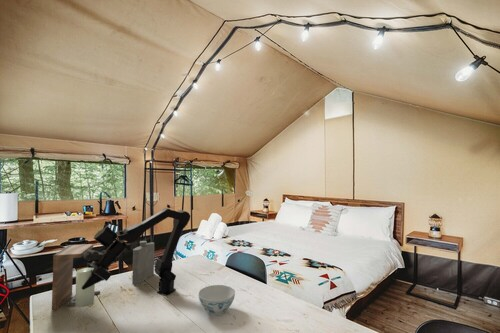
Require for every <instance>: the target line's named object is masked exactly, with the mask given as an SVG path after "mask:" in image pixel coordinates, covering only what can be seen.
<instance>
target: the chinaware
mask: <svg viewBox="0 0 500 333" xmlns="http://www.w3.org/2000/svg"><path fill="white" fill-rule="evenodd" d="M235 295H236V291H235V289H234V288H233V287H231V286H228V285H225V284H213V285H208V286H206V287H203V288H201V289H200V290H199V291H198V299H199V302H200V305H201V306H202V307H203V309H204V310H206V311H207V312H208V314H209V315H211V316H215V317H216V316H217V317H218V316H221V315H223V314H224V313H225V312H226V311H227V310H228V309H230V307H231V305H232V303H233V301H234V300H235Z"/></svg>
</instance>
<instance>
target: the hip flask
mask: <svg viewBox="0 0 500 333" xmlns="http://www.w3.org/2000/svg"><path fill="white" fill-rule="evenodd" d="M154 266H155V242H152V241H151V242H148V241H147V240H141V241H139V246H137V247H135V248H133V249H132V277H131V278H132V280H131V281H132V282H131V284H132V285H133V286H134V285H135V286H137V285H139V284H140V283H142V282H143V281H144V280H147V278H150V277H152V276H154V274H155V270H154V269H155V267H154Z"/></svg>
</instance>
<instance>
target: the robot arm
mask: <svg viewBox="0 0 500 333" xmlns="http://www.w3.org/2000/svg"><path fill="white" fill-rule="evenodd" d="M168 218H171V219H173V220H172V223H173V227H172V230H171V233H170V236H169V238H168V241H167V244H166V245H165V246H166V247H165V249H164V252H163V254H162V256H161V257H160V258H157V259H156V261H155V263H154V274H156V275H157V276H158V278H159V281H158V290H157V291H156V293H157V294H159V295H165V296H169V295H170V294H171V293H173V292H175V291H176V290H177V289H176V288H175V280H176V277H177V275H176V274H175V273H174V272H172V270H173V257H174V255H175V253H176V249H177V247H178V244H179V242H180V239H181V235H182V233H183V230H184V229H185V228H186V226H187V225H188V224H189V222H190V220H191V215H190V213H189V211H185V210H181V209H180V210H172V209H170V208H166V207H164V208H162V210H160V211H158V212H157V213H155V214H153V215H152V216H150V217H148V218H147V219H145V220H143V221H141V222H138V223H135V224H133V225H130V226H127V227H125V228H124V229H123V230H119V231H114V230H112V229H111V227H110V226H108V225H106V226H104V227H103V228H102V229H100V230H98V231H97V232H96V233H95V234H94V236H93V239H94V240H95V241H96V242H98V243H99V244H100V245H102V247H105V248H106V247H107V249H104V250H102V251H97V250H95V249H94V250H93V249H87V250H86V252H85V254H84V255H83V256H82V257H83V259H84V260H86V261H87V262H86V264H87V268H94V269H93V270H91V276H90V277H89V278H88V280H87V281H86V282H85V284H84V285H83V286H82V289H83V290H84V289H86V288H88V287H90V286H92V285H94V284H95V285H96V284H98V283H100V282H102V281H106V282H107V281H108V280H109V279H110V278H111V272H110V271H109V270H110V268H109V267H111V265H113V263H117V261H118V260H117V259H118V258H119V257H120V256H121V255H122V253H123V252H124V251H126V250H128V251H129V252H131V251H132V247H131V246H132V244H131V243H134V242H136V241H137V240H138V239H140V238H141V237H142V236H143V235H144V233H145V232H146V231H148V230H150V229H152V228H153V227H155V226H156V225H157V224H160V223H161V222H162V221H164V220H166V219H168ZM118 239H119V240H118Z"/></svg>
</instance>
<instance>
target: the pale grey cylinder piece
mask: <svg viewBox="0 0 500 333" xmlns="http://www.w3.org/2000/svg"><path fill="white" fill-rule="evenodd" d="M93 269H94V268H88V267H85V268H81V269H78V270H76V271H75V273H76V274H75V295H76V300H75V305H74V307H76V308H85V307H89V306H91V305H92V304H94V303H95V295H94V291H95V285H96V284H94V285H92V286H90V287H88V288H86V289H84V290H83V289H82V286H83V285H84V284H85V282H86V281H87V280H88V278H89V277H90V276H91V270H93Z"/></svg>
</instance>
